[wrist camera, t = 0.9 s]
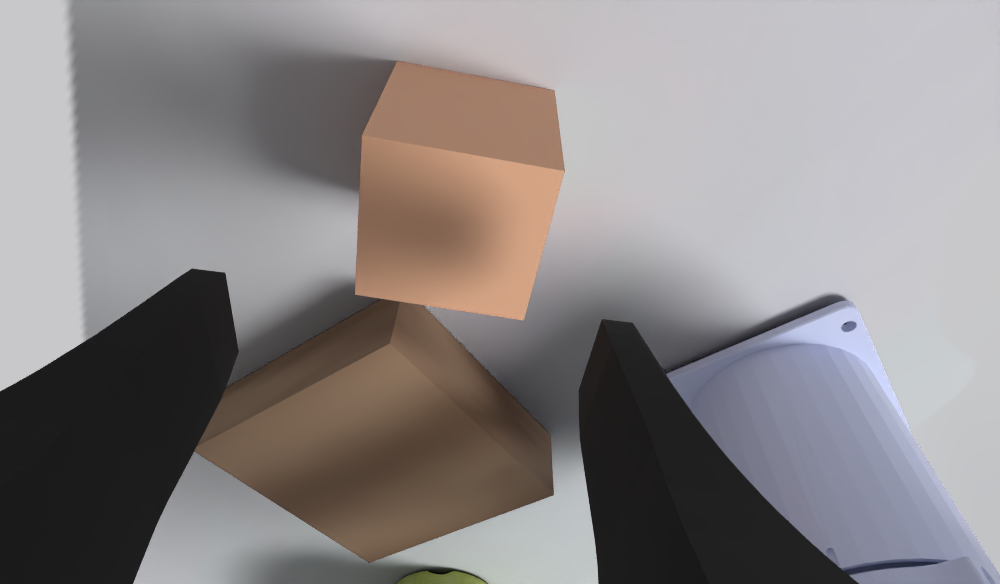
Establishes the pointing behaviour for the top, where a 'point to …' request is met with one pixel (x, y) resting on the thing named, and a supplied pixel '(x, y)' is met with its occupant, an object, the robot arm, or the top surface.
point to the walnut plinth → (381, 434)
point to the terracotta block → (457, 191)
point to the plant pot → (440, 578)
